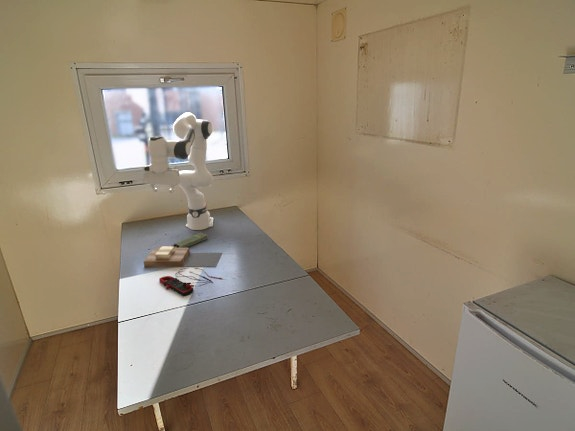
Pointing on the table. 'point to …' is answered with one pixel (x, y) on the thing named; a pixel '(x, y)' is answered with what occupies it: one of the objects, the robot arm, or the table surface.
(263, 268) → the table surface
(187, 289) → the digital clamp meter
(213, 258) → the mat
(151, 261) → the platform
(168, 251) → the tile
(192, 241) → the handheld radio
